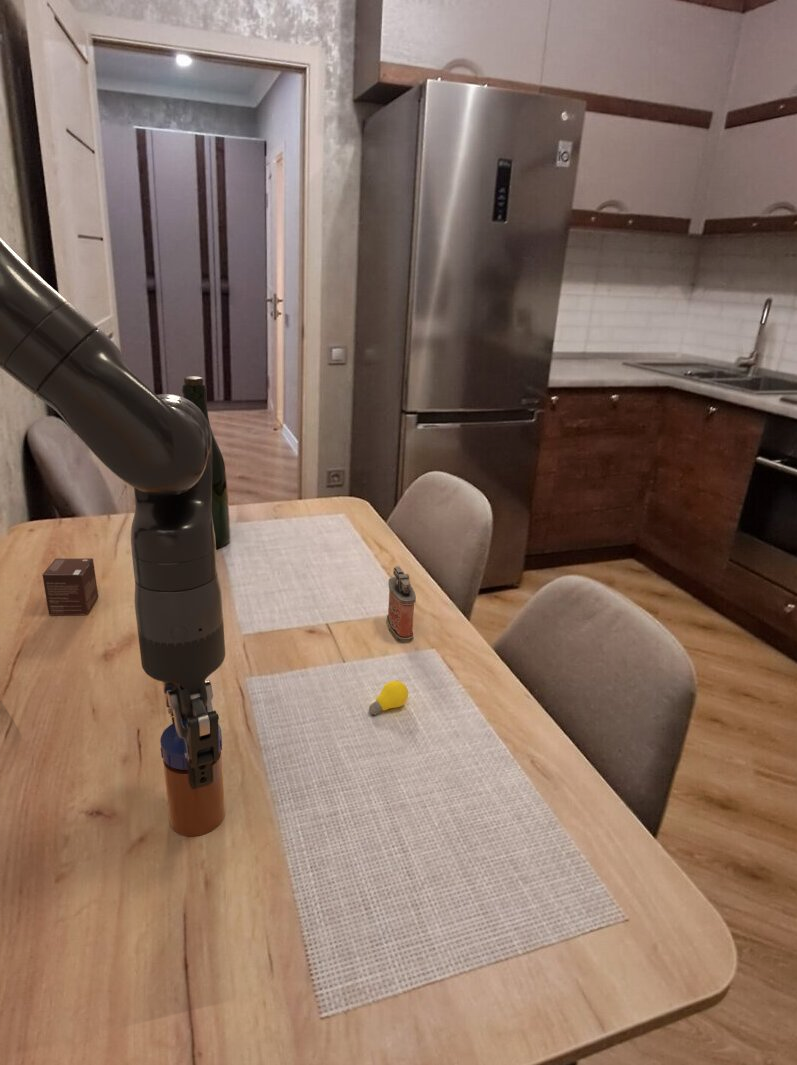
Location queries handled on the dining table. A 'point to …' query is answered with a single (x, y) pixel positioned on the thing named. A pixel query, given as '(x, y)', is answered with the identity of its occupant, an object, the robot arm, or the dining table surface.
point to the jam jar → (194, 801)
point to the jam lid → (177, 747)
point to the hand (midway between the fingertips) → (193, 763)
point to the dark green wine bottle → (220, 505)
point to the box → (70, 586)
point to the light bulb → (390, 697)
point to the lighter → (401, 606)
